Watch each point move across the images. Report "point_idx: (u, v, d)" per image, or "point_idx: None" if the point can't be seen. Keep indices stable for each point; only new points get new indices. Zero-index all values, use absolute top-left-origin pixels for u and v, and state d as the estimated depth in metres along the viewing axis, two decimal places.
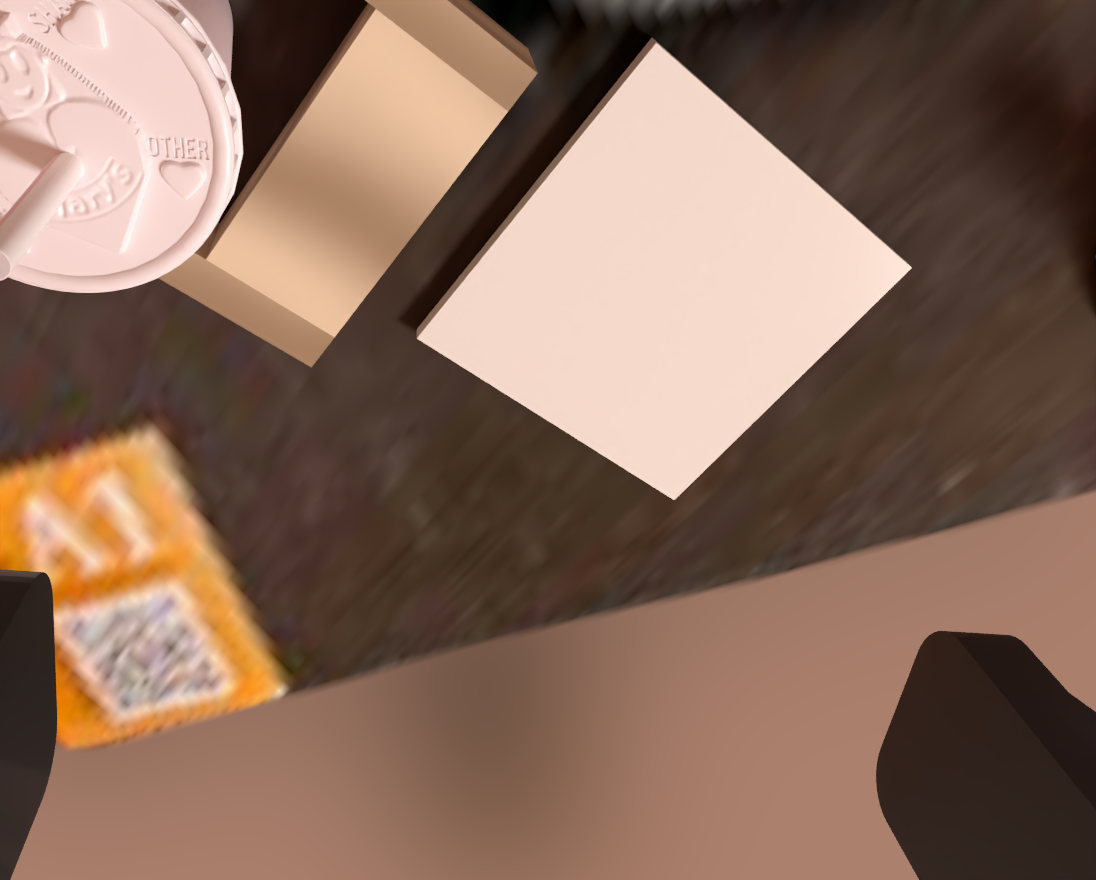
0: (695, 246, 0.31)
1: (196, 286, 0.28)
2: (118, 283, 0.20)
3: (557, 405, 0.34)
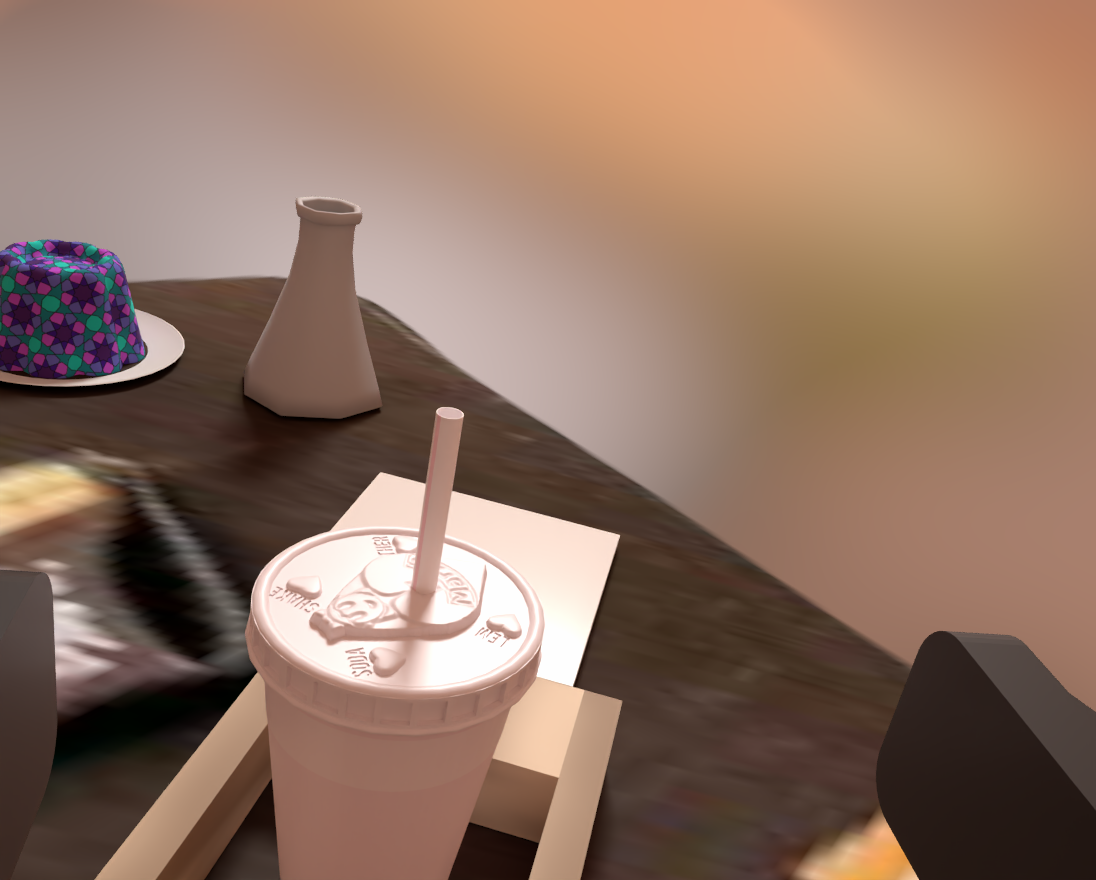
0: None
1: (589, 782, 0.29)
2: (515, 575, 0.24)
3: (581, 602, 0.40)
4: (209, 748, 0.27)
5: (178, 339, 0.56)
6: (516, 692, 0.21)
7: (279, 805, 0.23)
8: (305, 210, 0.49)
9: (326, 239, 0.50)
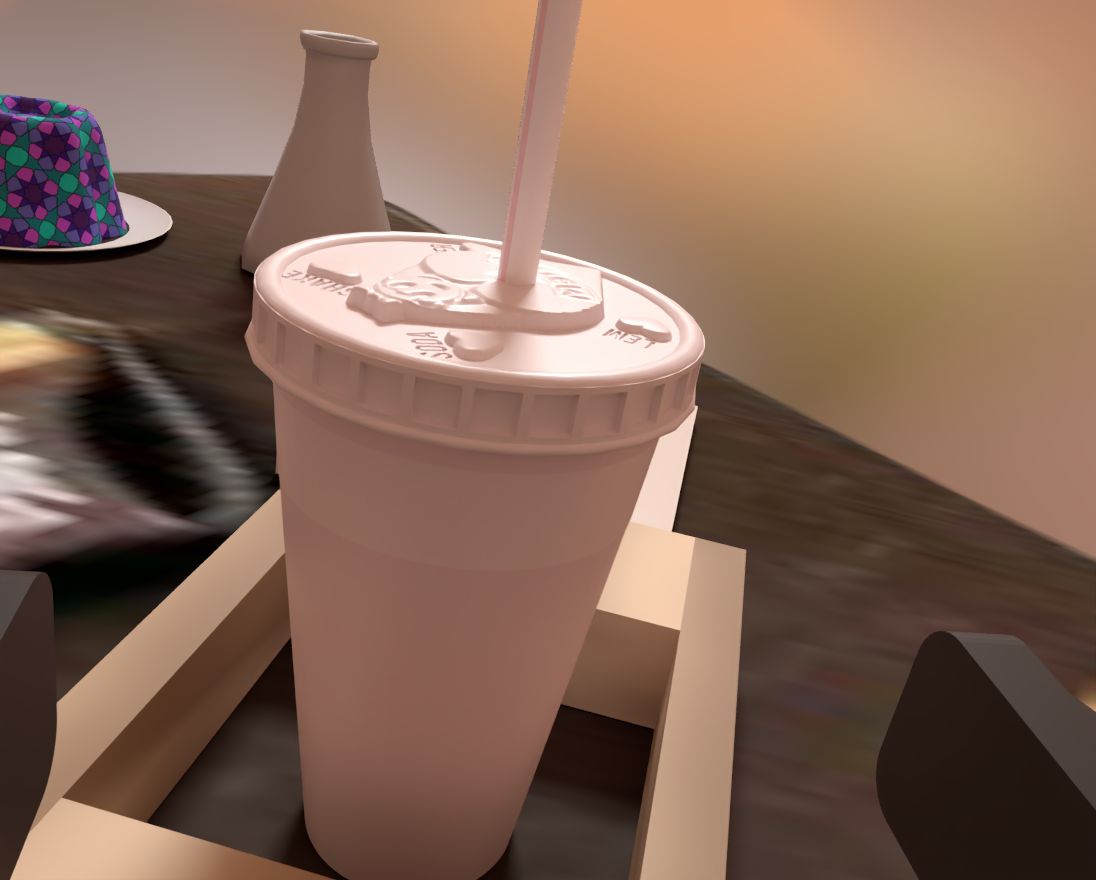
0: None
1: (721, 636, 0.21)
2: (642, 290, 0.16)
3: (663, 467, 0.32)
4: (196, 584, 0.19)
5: (164, 216, 0.49)
6: (672, 414, 0.14)
7: (299, 622, 0.15)
8: (312, 38, 0.41)
9: (337, 75, 0.42)
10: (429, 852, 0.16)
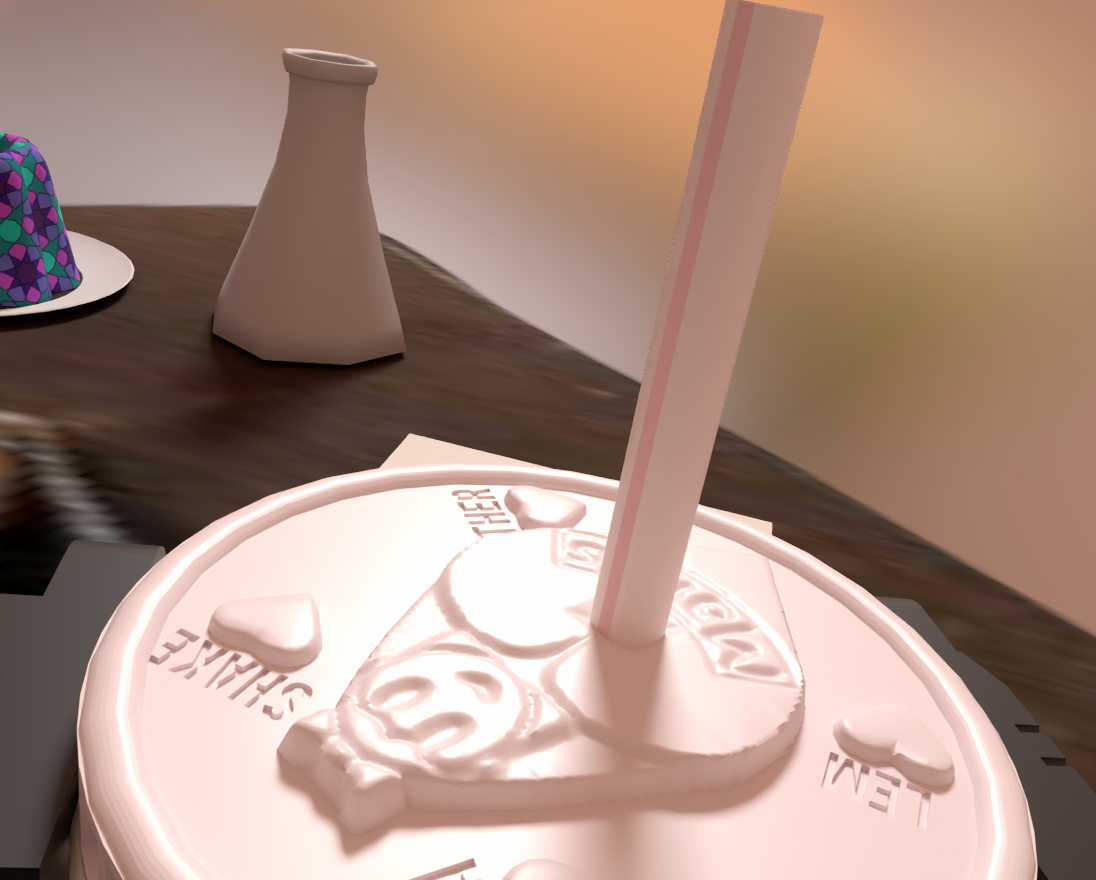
0: None
1: None
2: (839, 586, 0.09)
3: None
4: None
5: (123, 261, 0.42)
6: None
7: None
8: (296, 60, 0.34)
9: (326, 104, 0.35)
10: None
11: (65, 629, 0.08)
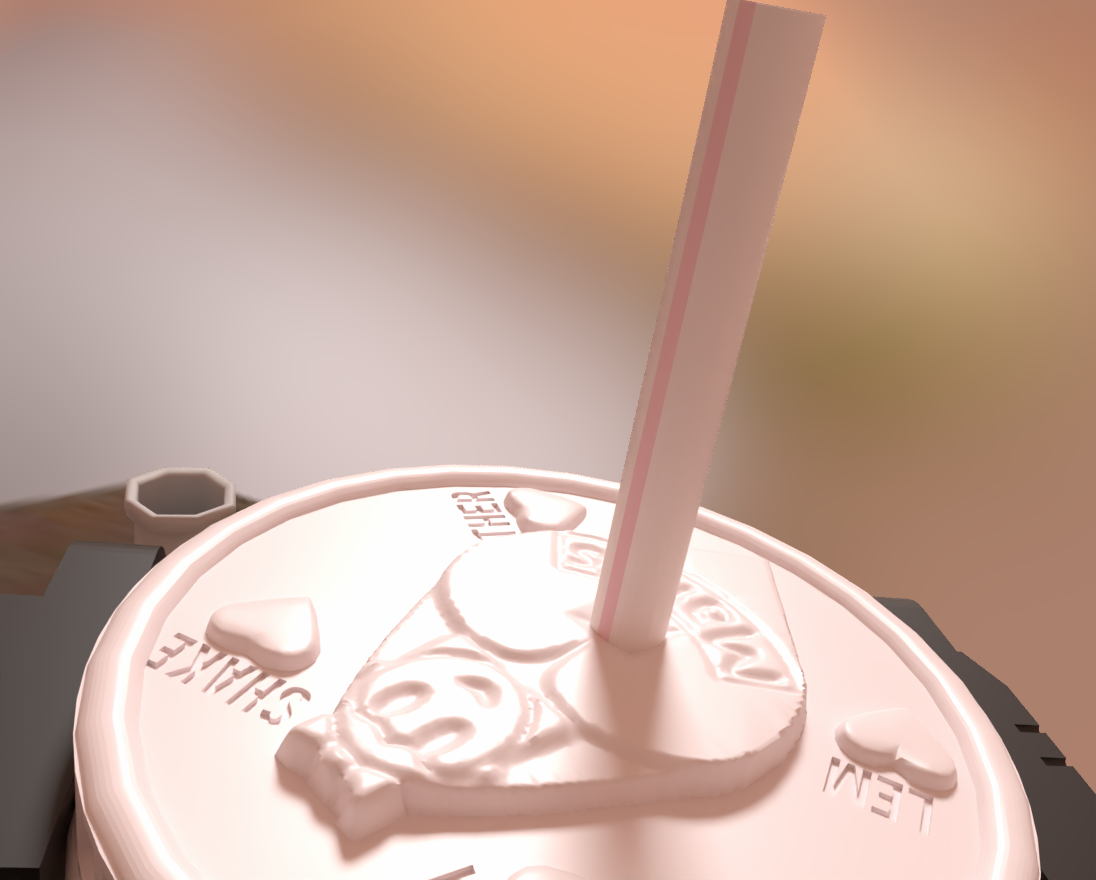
0: None
1: None
2: (839, 588, 0.09)
3: None
4: None
5: None
6: None
7: None
8: (136, 512, 0.29)
9: None
10: None
11: (65, 629, 0.08)
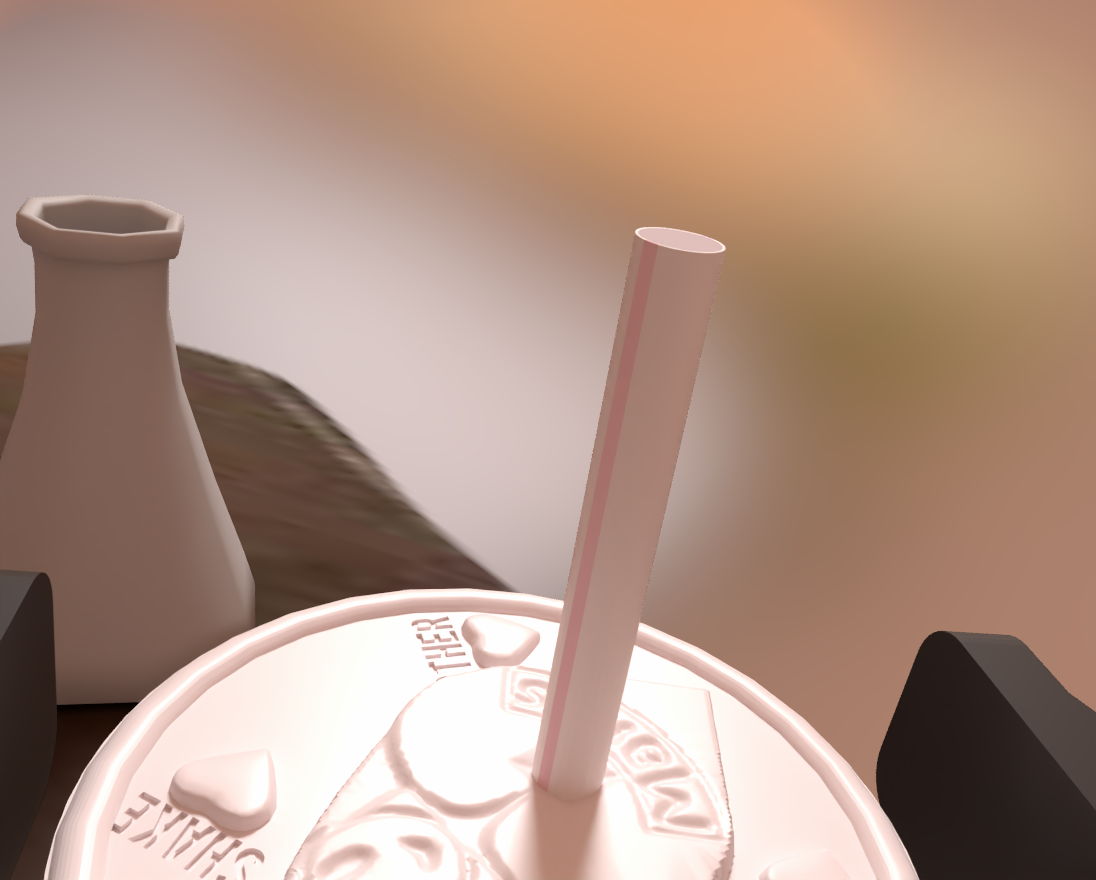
0: None
1: None
2: (780, 713, 0.09)
3: None
4: None
5: None
6: None
7: None
8: (33, 227, 0.20)
9: (93, 296, 0.21)
10: None
11: None
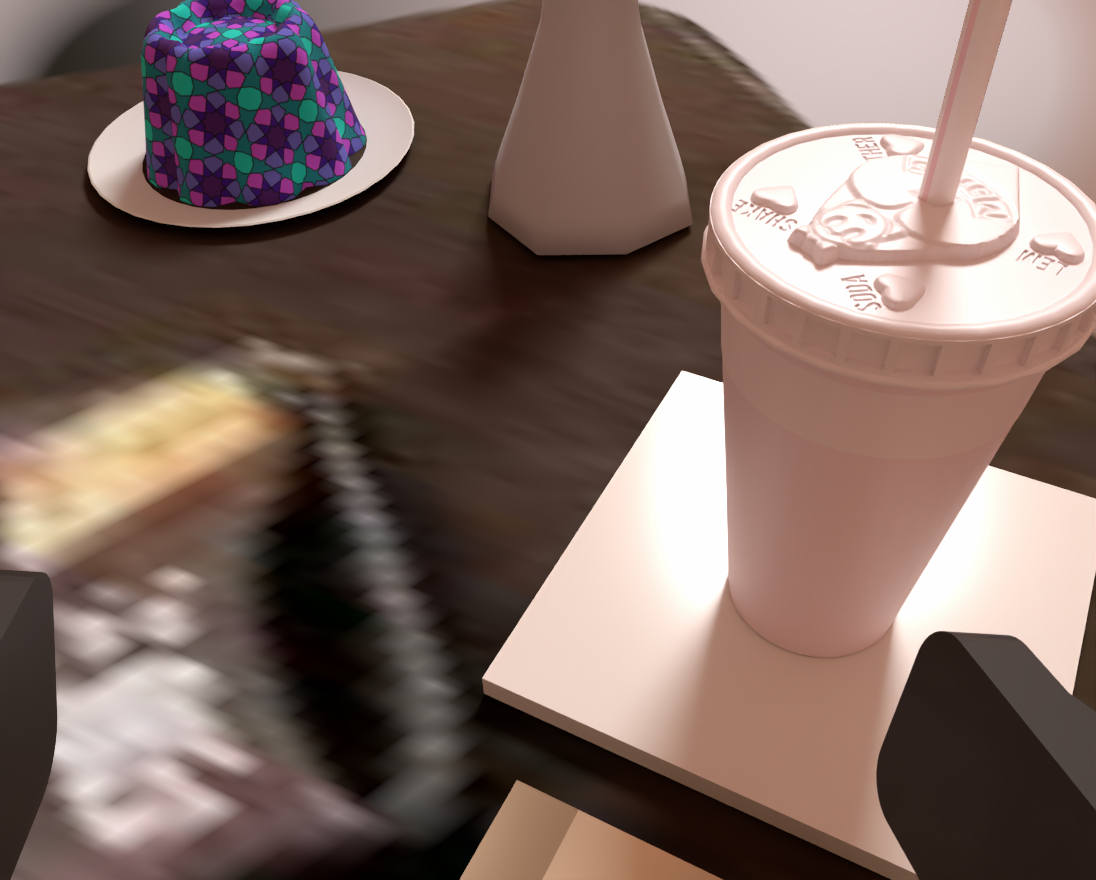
0: (727, 572, 0.24)
1: None
2: (1059, 182, 0.17)
3: None
4: None
5: (393, 99, 0.41)
6: (1077, 337, 0.15)
7: (736, 466, 0.20)
8: None
9: None
10: (830, 631, 0.21)
11: None
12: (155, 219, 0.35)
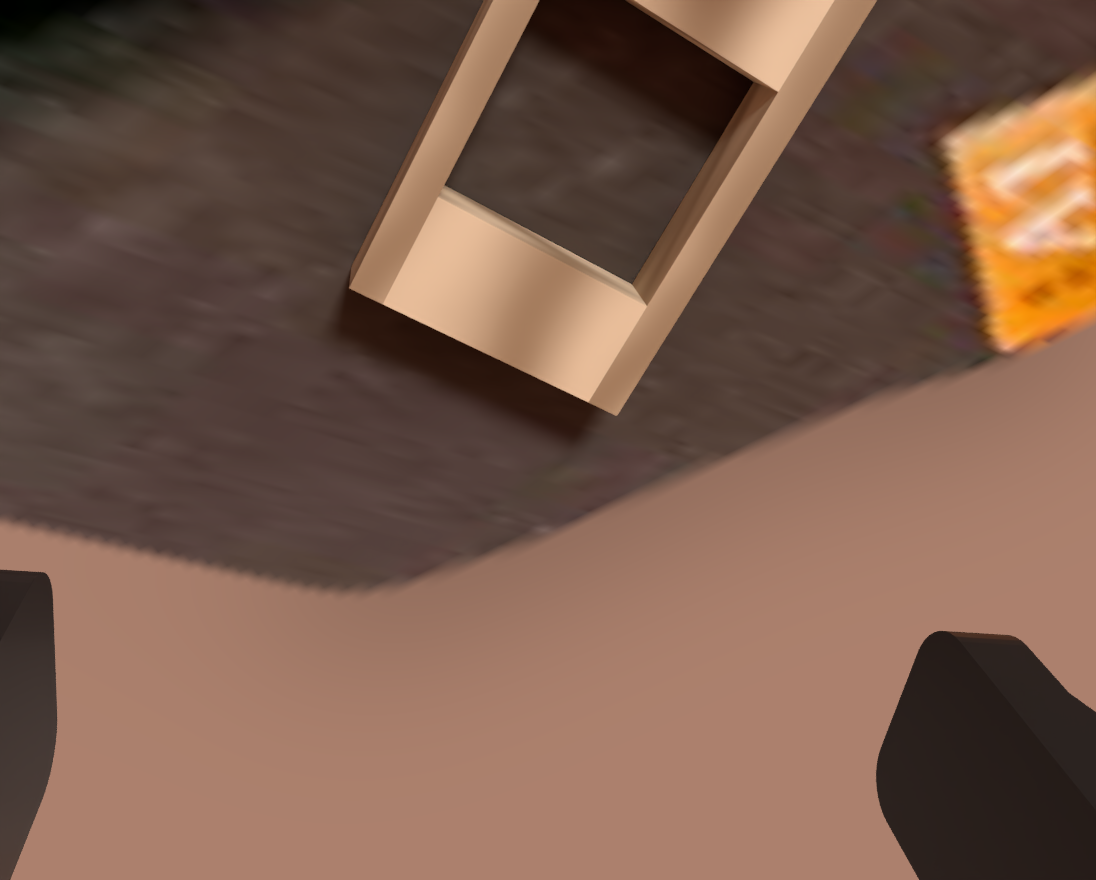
0: None
1: (801, 100, 0.33)
2: None
3: None
4: (492, 22, 0.31)
5: None
6: None
7: None
8: None
9: None
10: None
11: None
12: None
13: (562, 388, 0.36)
